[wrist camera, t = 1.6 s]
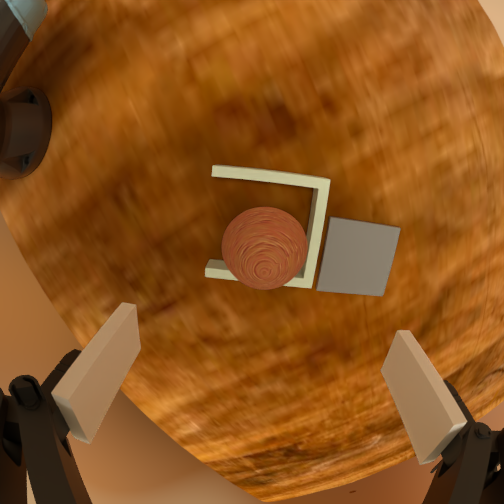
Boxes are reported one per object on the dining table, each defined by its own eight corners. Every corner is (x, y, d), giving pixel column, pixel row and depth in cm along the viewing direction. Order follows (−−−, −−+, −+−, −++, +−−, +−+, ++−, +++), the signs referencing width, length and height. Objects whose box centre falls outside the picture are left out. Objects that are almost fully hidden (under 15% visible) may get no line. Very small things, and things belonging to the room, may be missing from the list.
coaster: (315, 287, 39) (316, 290, 38) (329, 215, 36) (330, 217, 35) (380, 293, 39) (382, 296, 38) (398, 226, 36) (400, 228, 35)
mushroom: (234, 254, 38) (217, 316, 24) (230, 193, 35) (207, 221, 21) (296, 252, 38) (314, 313, 23) (295, 190, 35) (317, 217, 21)
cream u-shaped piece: (209, 267, 39) (204, 276, 36) (216, 164, 34) (212, 165, 31) (308, 278, 39) (311, 288, 36) (324, 177, 34) (330, 179, 31)
